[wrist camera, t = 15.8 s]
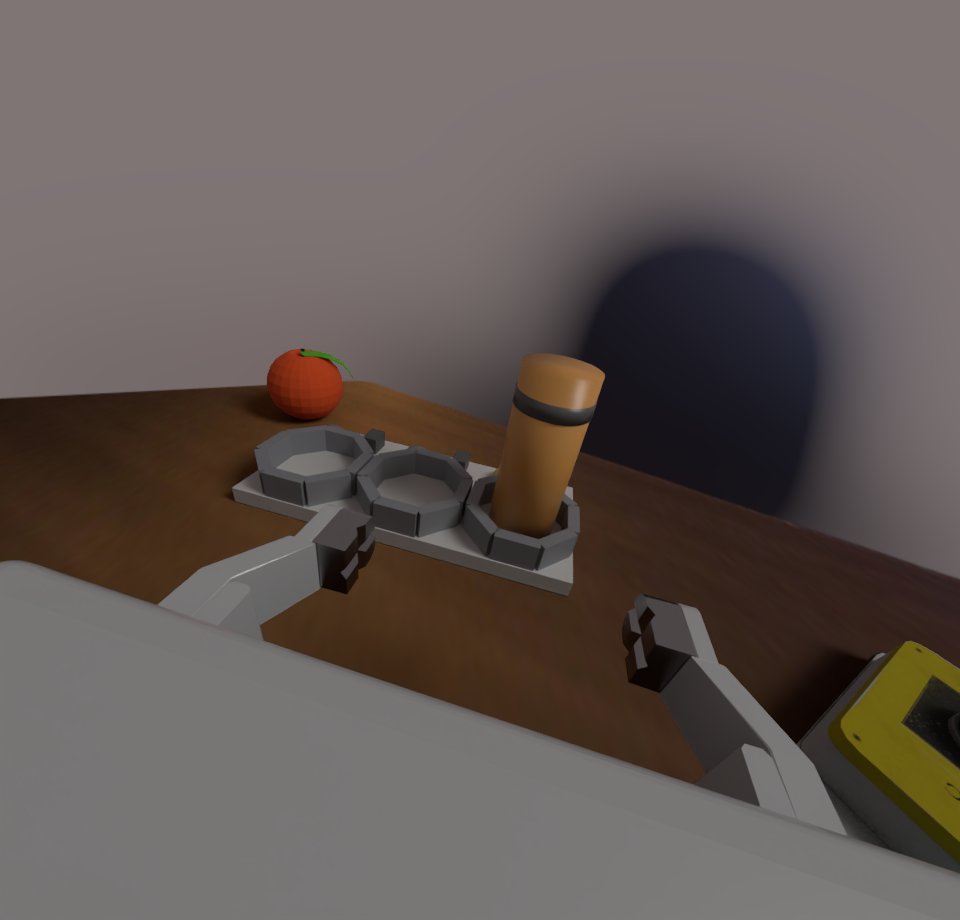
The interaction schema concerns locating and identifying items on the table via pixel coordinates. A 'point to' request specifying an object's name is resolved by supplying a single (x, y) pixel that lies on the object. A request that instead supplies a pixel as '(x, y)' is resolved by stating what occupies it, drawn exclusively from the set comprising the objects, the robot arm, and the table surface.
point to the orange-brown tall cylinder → (543, 441)
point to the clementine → (305, 383)
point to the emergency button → (896, 755)
